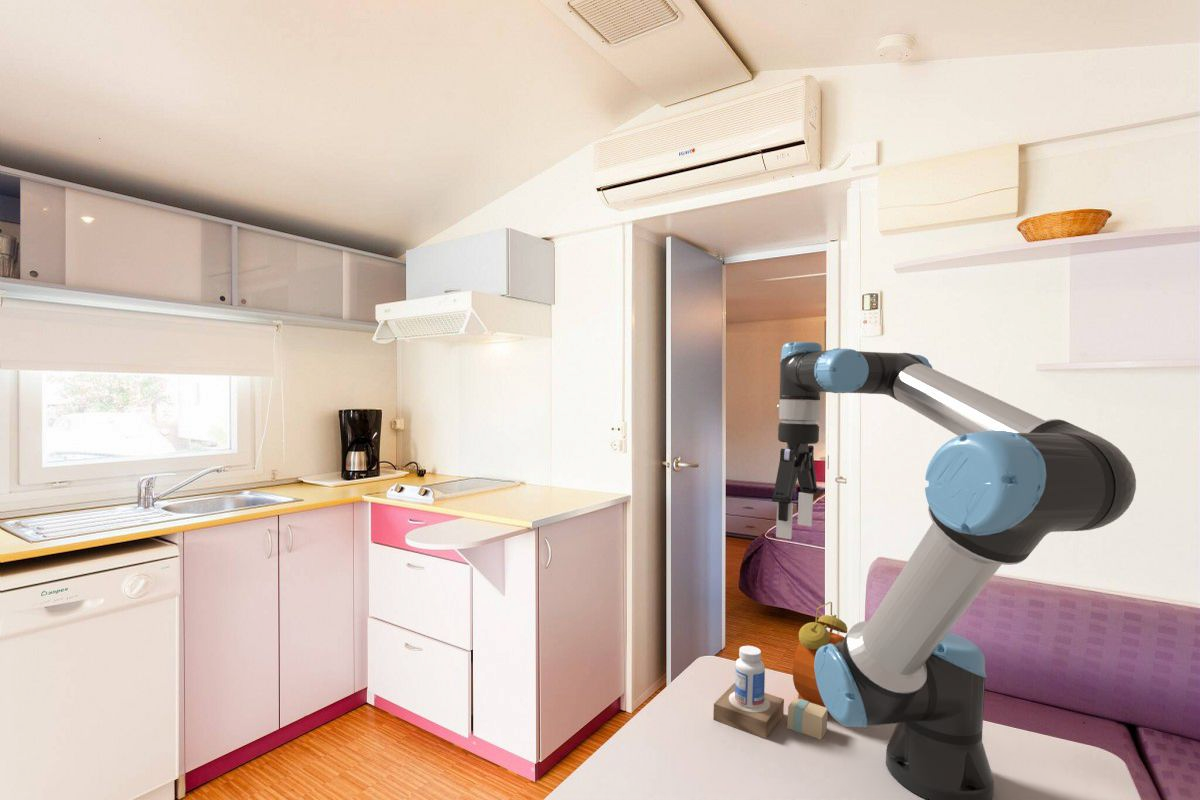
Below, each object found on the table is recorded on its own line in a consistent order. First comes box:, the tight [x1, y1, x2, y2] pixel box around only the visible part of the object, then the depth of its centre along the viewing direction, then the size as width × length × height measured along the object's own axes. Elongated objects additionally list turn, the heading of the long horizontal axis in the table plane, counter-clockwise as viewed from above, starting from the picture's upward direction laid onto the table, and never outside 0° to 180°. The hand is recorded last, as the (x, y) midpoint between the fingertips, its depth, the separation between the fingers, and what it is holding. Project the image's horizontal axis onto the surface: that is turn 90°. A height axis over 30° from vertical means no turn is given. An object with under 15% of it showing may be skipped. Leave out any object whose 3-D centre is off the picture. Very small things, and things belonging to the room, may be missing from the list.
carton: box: [787, 697, 829, 740], centre depth 109 cm, size 6×4×4 cm
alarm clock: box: [792, 601, 848, 707], centre depth 117 cm, size 13×6×20 cm, turn 133°
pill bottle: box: [734, 645, 766, 708], centre depth 112 cm, size 6×5×10 cm
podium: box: [712, 682, 785, 739], centre depth 112 cm, size 10×10×3 cm
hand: (794, 531), depth 115 cm, fingers open, 13 cm apart
